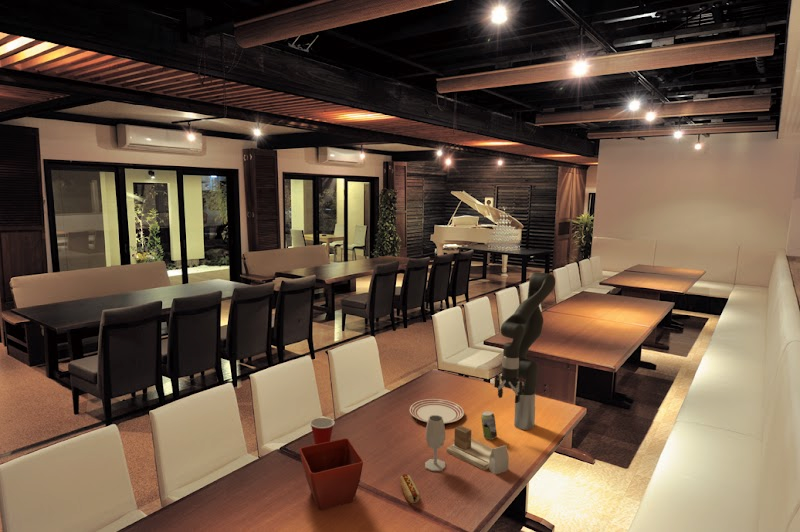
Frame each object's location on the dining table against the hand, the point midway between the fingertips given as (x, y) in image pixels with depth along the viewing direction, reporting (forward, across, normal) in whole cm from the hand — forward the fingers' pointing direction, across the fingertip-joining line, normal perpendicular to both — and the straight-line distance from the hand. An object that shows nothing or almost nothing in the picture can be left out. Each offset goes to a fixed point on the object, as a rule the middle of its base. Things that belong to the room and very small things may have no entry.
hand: (508, 400), depth 225 cm
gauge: (+16, +7, +25) cm, 30 cm away
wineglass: (+19, +8, +43) cm, 47 cm away
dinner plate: (+18, +37, +6) cm, 42 cm away
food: (+20, +2, +64) cm, 67 cm away
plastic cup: (+20, +53, +65) cm, 87 cm away
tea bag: (+19, -13, +27) cm, 35 cm away
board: (+18, +1, +24) cm, 30 cm away
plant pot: (+21, +22, +85) cm, 90 cm away
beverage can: (+18, +5, +7) cm, 20 cm away
